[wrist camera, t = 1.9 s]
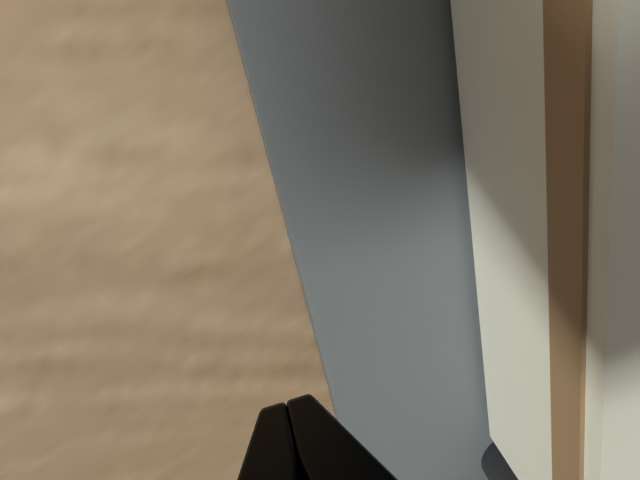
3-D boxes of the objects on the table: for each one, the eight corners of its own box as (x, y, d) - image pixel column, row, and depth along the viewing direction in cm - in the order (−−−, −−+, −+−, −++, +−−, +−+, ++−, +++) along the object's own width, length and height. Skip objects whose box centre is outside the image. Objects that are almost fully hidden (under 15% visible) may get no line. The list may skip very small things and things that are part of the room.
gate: (539, 419, 17) (660, 574, 13) (486, 437, 17) (591, 600, 13) (520, -141, 11) (758, -211, 6) (434, -121, 10) (616, -179, 6)
